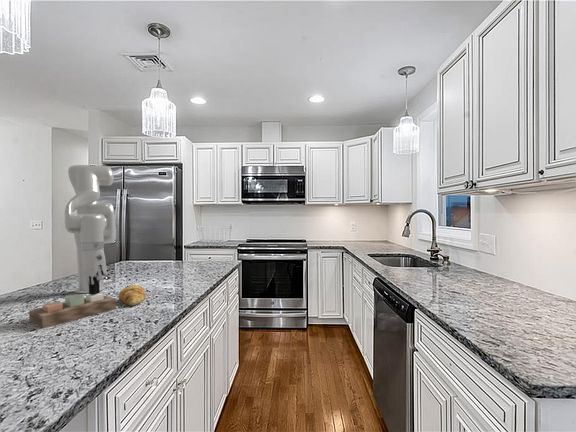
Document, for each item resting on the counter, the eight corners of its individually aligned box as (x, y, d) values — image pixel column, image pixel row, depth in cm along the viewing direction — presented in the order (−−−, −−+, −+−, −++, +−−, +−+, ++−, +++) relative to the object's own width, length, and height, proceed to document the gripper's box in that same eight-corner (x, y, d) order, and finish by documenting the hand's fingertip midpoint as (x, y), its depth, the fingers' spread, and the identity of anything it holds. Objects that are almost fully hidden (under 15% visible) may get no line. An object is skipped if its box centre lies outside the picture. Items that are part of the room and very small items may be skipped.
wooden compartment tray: (100, 304, 134) (100, 294, 134) (116, 308, 127) (115, 298, 127) (29, 321, 115) (29, 310, 114) (43, 328, 108) (42, 316, 108)
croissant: (141, 314, 131) (151, 296, 132) (116, 306, 126) (126, 287, 128) (137, 300, 149) (146, 284, 151) (115, 293, 145) (124, 276, 146)
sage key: (78, 304, 124) (78, 294, 124) (84, 306, 121) (83, 295, 121) (65, 307, 120) (64, 296, 120) (70, 309, 118) (70, 298, 118)
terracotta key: (57, 312, 118) (57, 301, 118) (63, 314, 116) (62, 303, 116) (43, 316, 115) (42, 305, 114) (48, 318, 112) (47, 307, 112)
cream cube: (98, 303, 130) (97, 293, 130) (103, 304, 127) (103, 294, 127) (86, 305, 126) (85, 295, 126) (91, 307, 124) (91, 297, 123)
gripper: (112, 246, 125) (114, 294, 126) (93, 244, 133) (95, 289, 134) (91, 249, 119) (93, 299, 120) (73, 246, 127) (75, 293, 128)
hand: (94, 293), depth 127 cm, fingers closed
